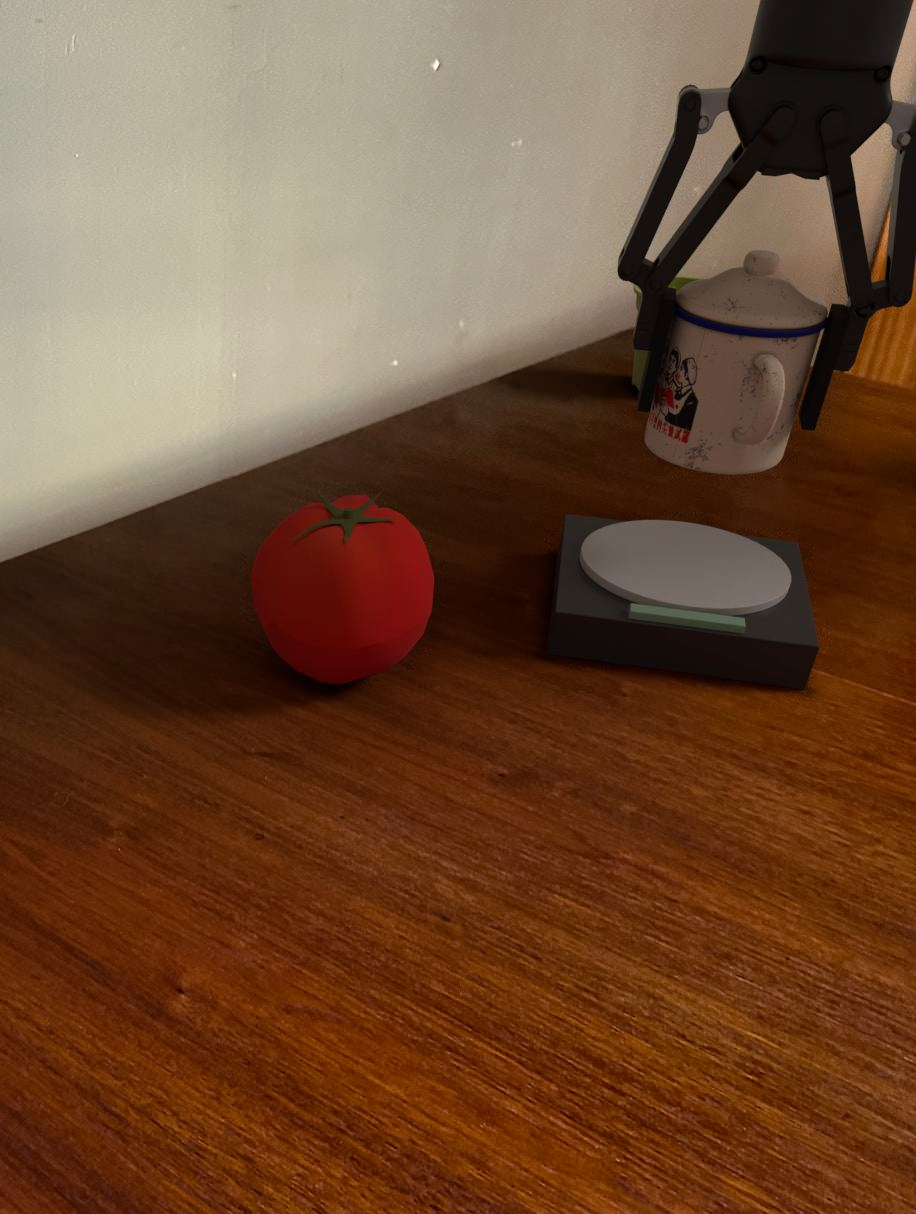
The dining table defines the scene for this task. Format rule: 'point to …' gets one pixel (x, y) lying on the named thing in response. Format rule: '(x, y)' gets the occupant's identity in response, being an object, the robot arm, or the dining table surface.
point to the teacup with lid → (734, 369)
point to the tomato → (343, 588)
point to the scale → (682, 600)
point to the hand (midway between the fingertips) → (724, 413)
